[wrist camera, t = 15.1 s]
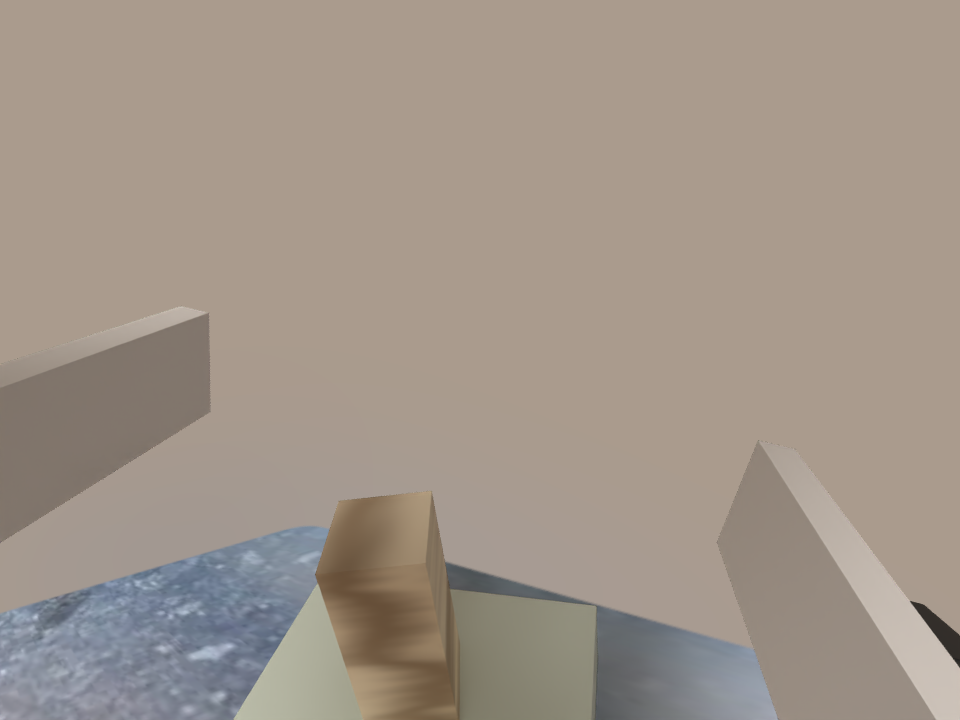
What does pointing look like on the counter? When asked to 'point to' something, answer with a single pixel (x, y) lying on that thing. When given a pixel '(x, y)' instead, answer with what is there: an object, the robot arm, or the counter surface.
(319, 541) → the counter surface
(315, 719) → the block
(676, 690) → the counter surface
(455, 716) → the birch block
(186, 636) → the counter surface
